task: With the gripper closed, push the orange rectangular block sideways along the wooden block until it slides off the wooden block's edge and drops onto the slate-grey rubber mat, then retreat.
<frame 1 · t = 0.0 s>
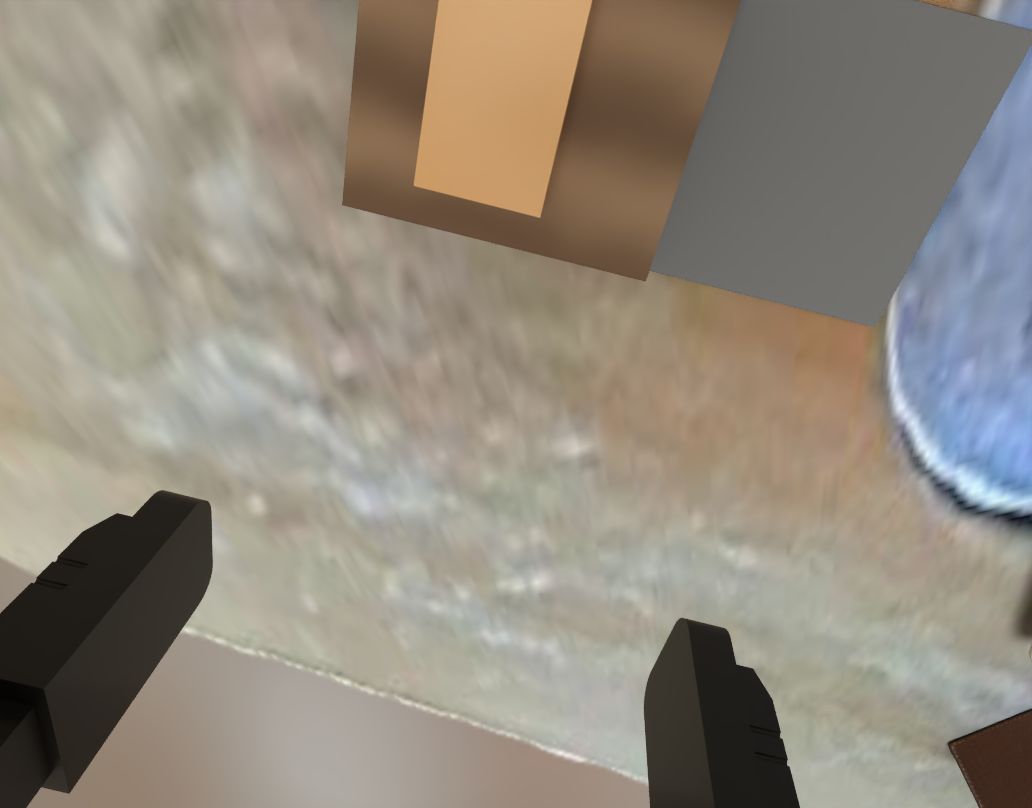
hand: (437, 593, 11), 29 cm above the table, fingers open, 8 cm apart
orange rectangular block: (500, 94, 29), point 5 cm above the table, touching wooden block
mat: (815, 161, 34), on the table
wooden block: (532, 89, 34), on the table
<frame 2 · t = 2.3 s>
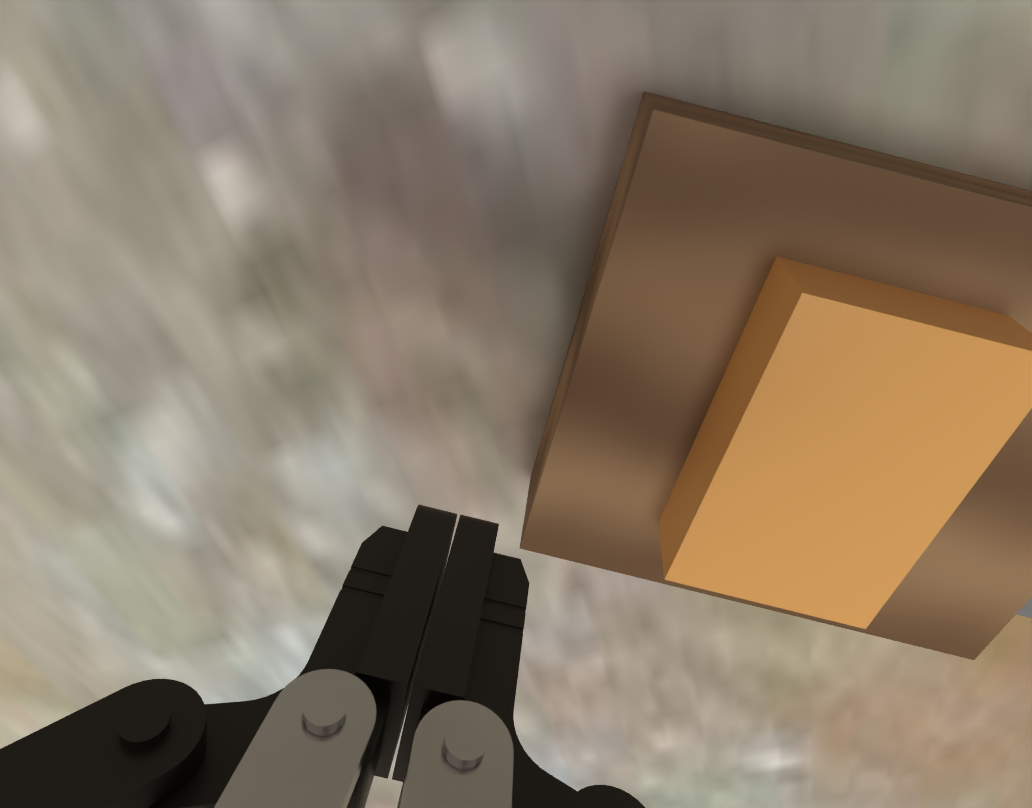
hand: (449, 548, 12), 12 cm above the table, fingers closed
orange rectangular block: (824, 456, 18), point 5 cm above the table, touching wooden block
wooden block: (808, 373, 22), on the table
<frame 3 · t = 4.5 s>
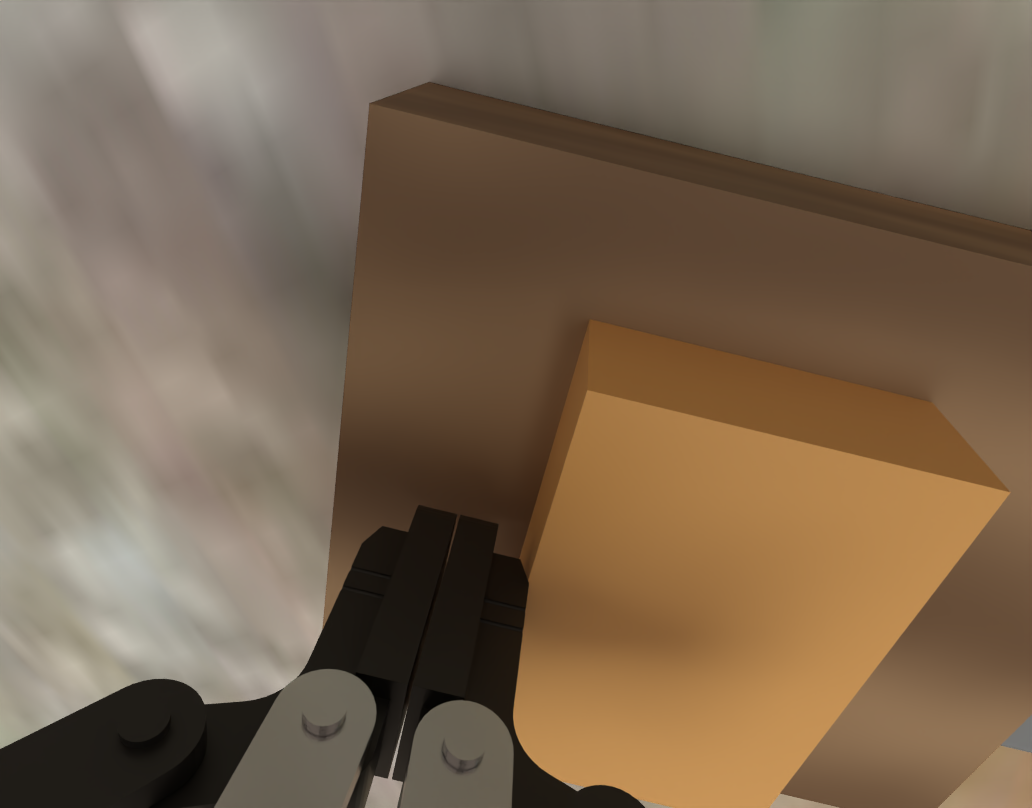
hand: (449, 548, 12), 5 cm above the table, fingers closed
orange rectangular block: (680, 598, 12), point 5 cm above the table, touching gripper
wooden block: (694, 452, 17), on the table
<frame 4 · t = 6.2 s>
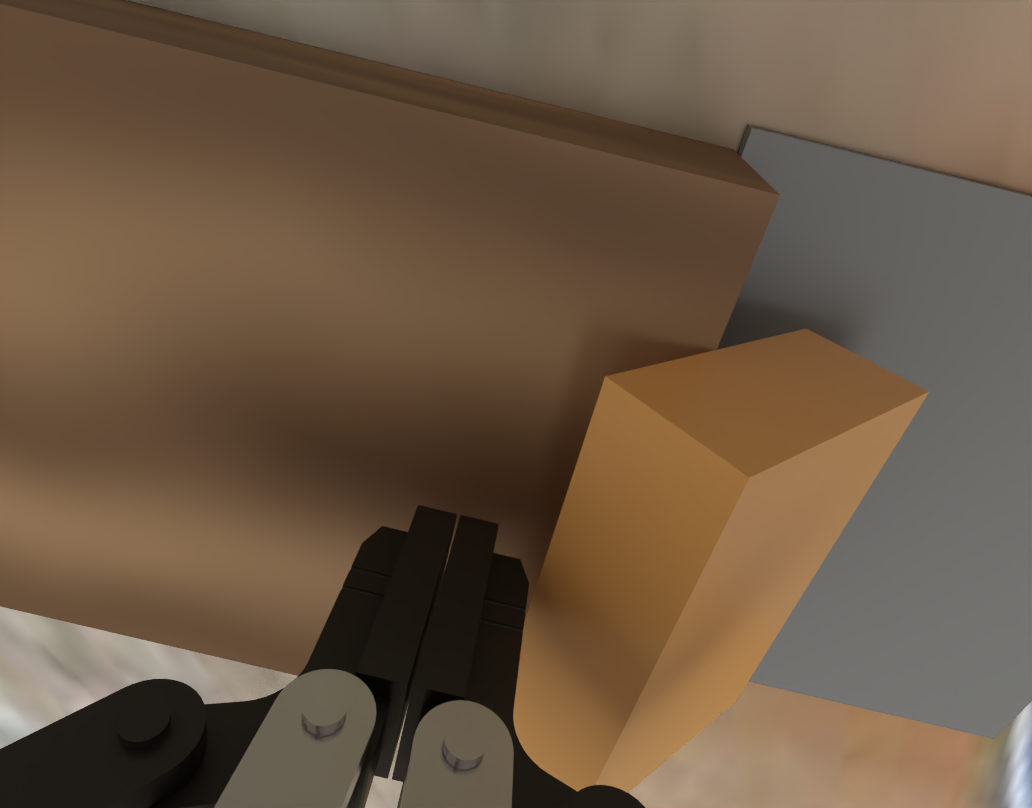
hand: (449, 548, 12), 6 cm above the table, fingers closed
orange rectangular block: (688, 581, 13), point 5 cm above the table, tilted 46°, touching wooden block
mat: (895, 495, 17), on the table
wooden block: (325, 358, 17), on the table
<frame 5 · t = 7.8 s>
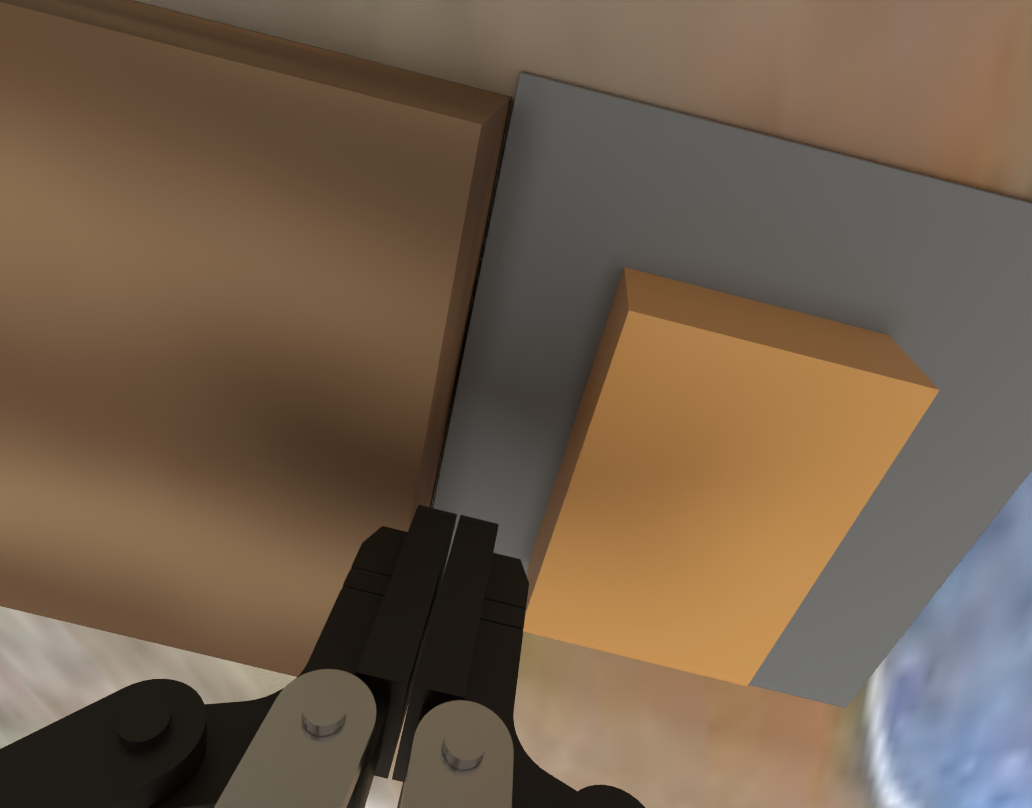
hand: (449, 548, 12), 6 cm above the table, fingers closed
orange rectangular block: (690, 493, 16), point 2 cm above the table, tilted 180°, touching mat
mat: (719, 456, 17), on the table
wooden block: (145, 315, 17), on the table
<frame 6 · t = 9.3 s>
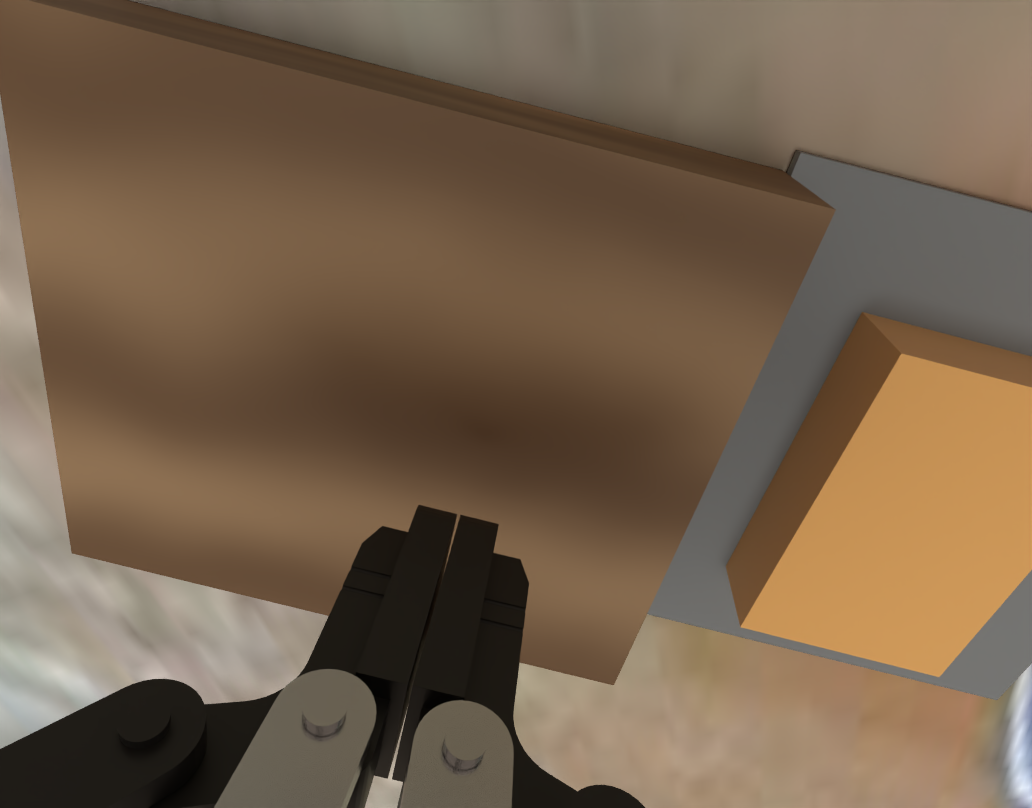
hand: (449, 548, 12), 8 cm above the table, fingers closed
orange rectangular block: (903, 506, 18), point 2 cm above the table, tilted 180°, touching mat
mat: (913, 474, 19), on the table
wooden block: (413, 347, 19), on the table
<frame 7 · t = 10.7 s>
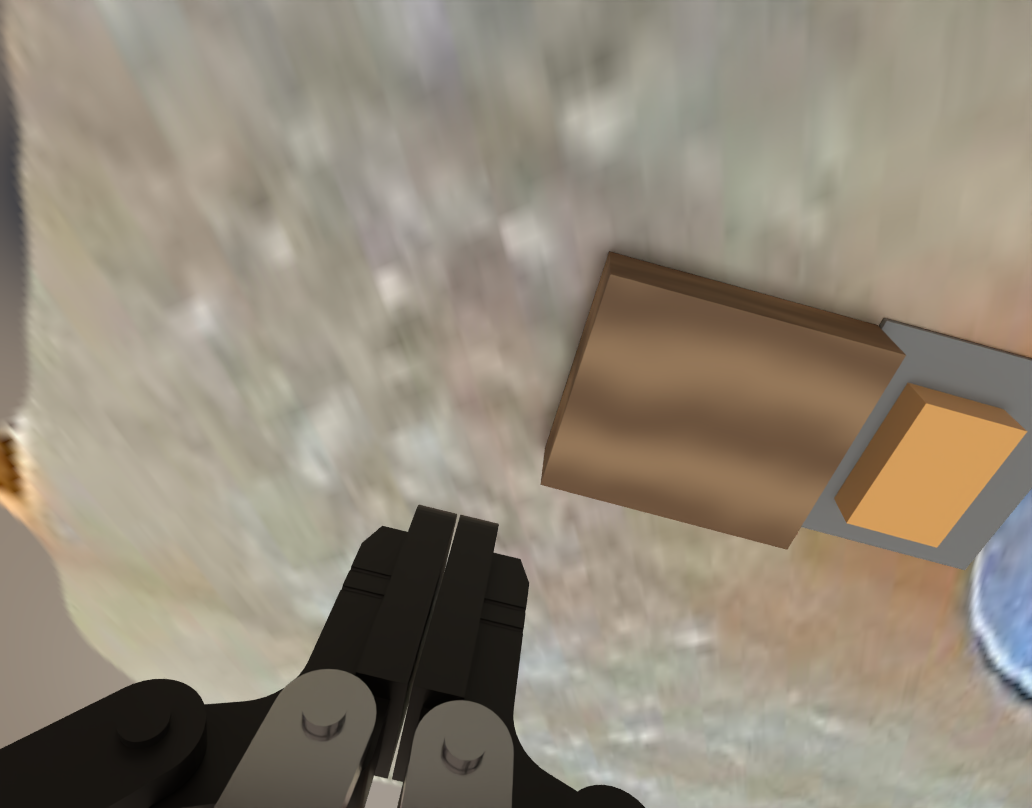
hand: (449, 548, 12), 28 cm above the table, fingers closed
orange rectangular block: (922, 467, 40), point 2 cm above the table, tilted 180°, touching mat
mat: (926, 453, 42), on the table
wooden block: (698, 392, 41), on the table
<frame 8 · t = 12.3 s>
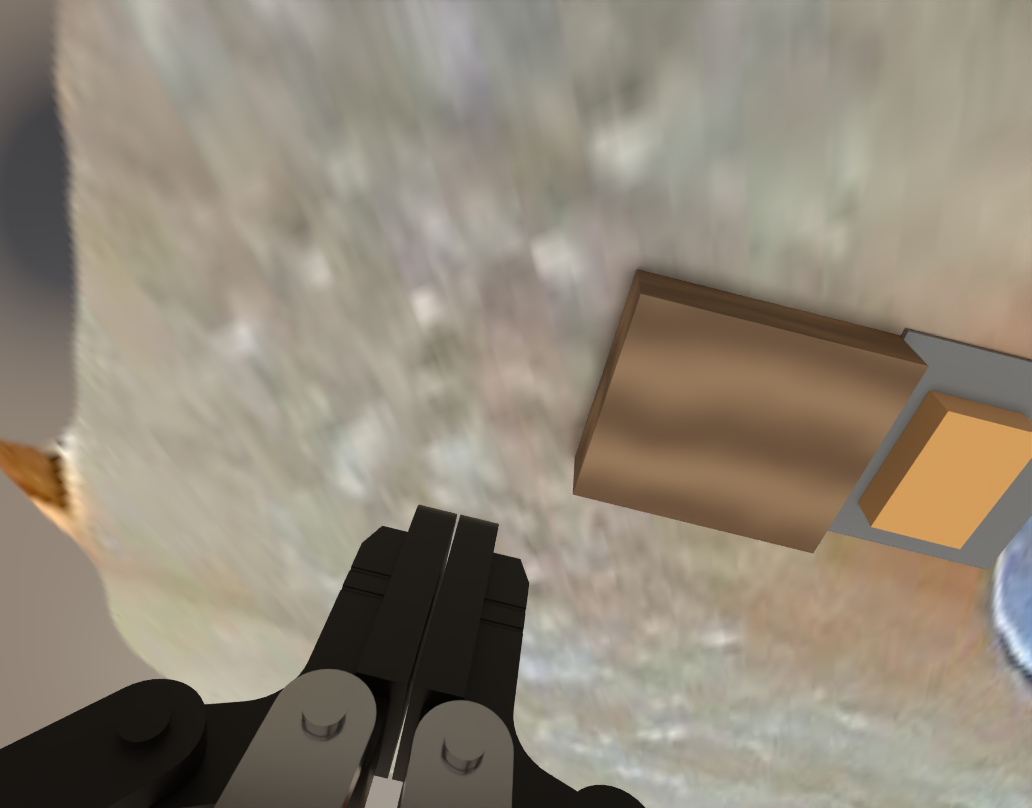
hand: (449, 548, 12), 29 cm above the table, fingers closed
orange rectangular block: (945, 472, 41), point 2 cm above the table, tilted 180°, touching mat
mat: (948, 458, 43), on the table
wooden block: (724, 402, 42), on the table
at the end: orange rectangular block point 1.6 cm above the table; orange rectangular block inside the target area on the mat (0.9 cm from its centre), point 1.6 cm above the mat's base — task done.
